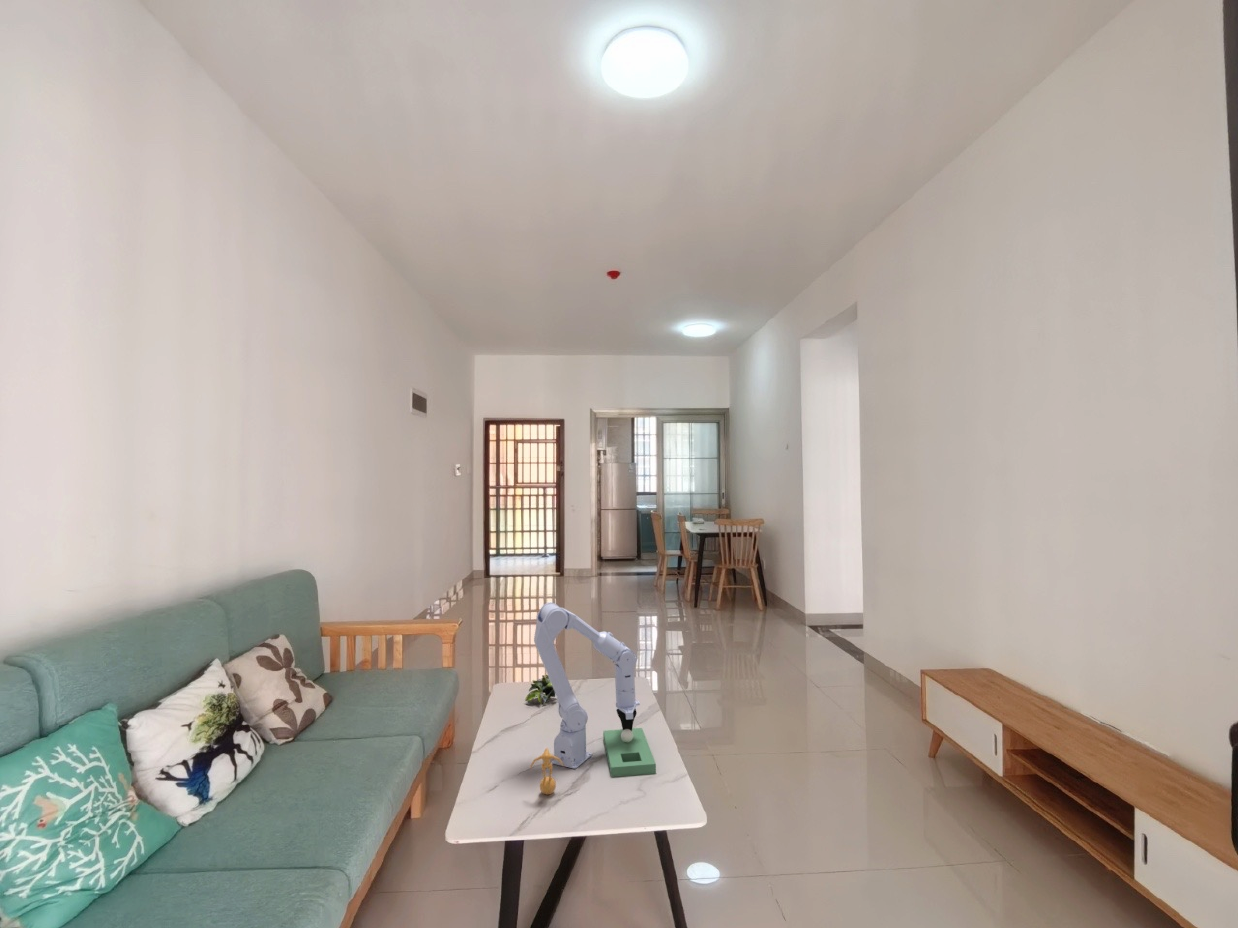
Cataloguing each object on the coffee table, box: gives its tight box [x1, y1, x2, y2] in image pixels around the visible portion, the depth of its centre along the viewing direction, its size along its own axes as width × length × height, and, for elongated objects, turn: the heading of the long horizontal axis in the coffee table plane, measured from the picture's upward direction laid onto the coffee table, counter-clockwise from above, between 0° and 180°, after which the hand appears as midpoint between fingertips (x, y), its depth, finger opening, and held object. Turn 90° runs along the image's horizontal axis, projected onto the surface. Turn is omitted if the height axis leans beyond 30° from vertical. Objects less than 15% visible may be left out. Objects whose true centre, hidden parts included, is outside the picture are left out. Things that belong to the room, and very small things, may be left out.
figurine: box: [529, 747, 565, 796], centre depth 149 cm, size 8×6×12 cm
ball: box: [621, 729, 633, 742], centre depth 173 cm, size 4×4×4 cm
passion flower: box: [524, 674, 556, 707], centre depth 213 cm, size 11×11×12 cm
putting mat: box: [602, 727, 657, 778], centre depth 170 cm, size 24×12×2 cm, turn 7°
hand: (627, 734), depth 175 cm, fingers closed, pressing on ball
